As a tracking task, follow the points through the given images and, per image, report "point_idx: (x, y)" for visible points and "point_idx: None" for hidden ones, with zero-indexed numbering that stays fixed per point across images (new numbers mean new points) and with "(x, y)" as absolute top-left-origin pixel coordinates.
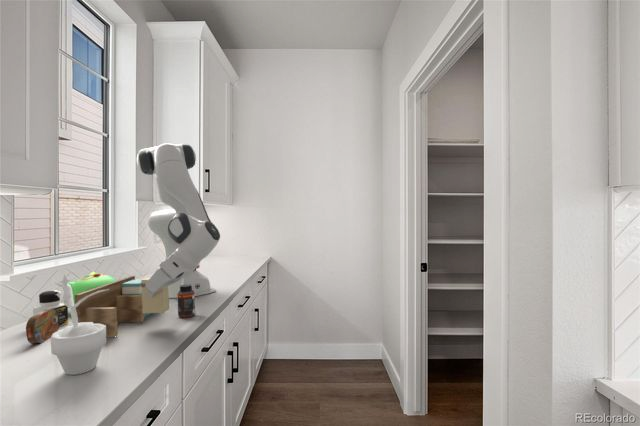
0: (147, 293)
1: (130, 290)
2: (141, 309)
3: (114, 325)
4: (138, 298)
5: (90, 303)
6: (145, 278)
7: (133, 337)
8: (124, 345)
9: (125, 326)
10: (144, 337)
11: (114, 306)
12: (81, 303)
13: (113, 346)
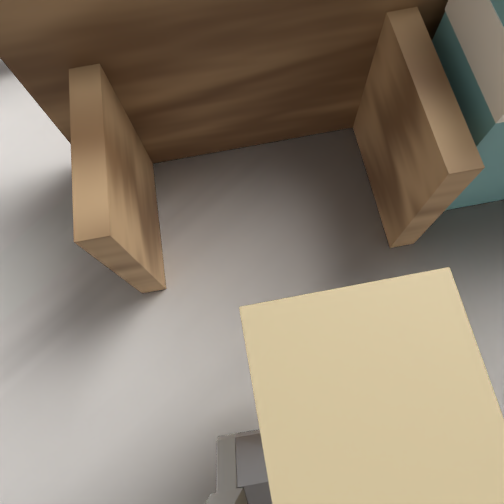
0: (217, 446)
1: (479, 37)
2: (413, 220)
3: (123, 276)
4: (434, 165)
5: (106, 42)
6: (352, 299)
7: (152, 395)
8: (39, 436)
9: (300, 220)
10: (157, 463)
11: (351, 67)
12: (4, 38)
13: (27, 385)
